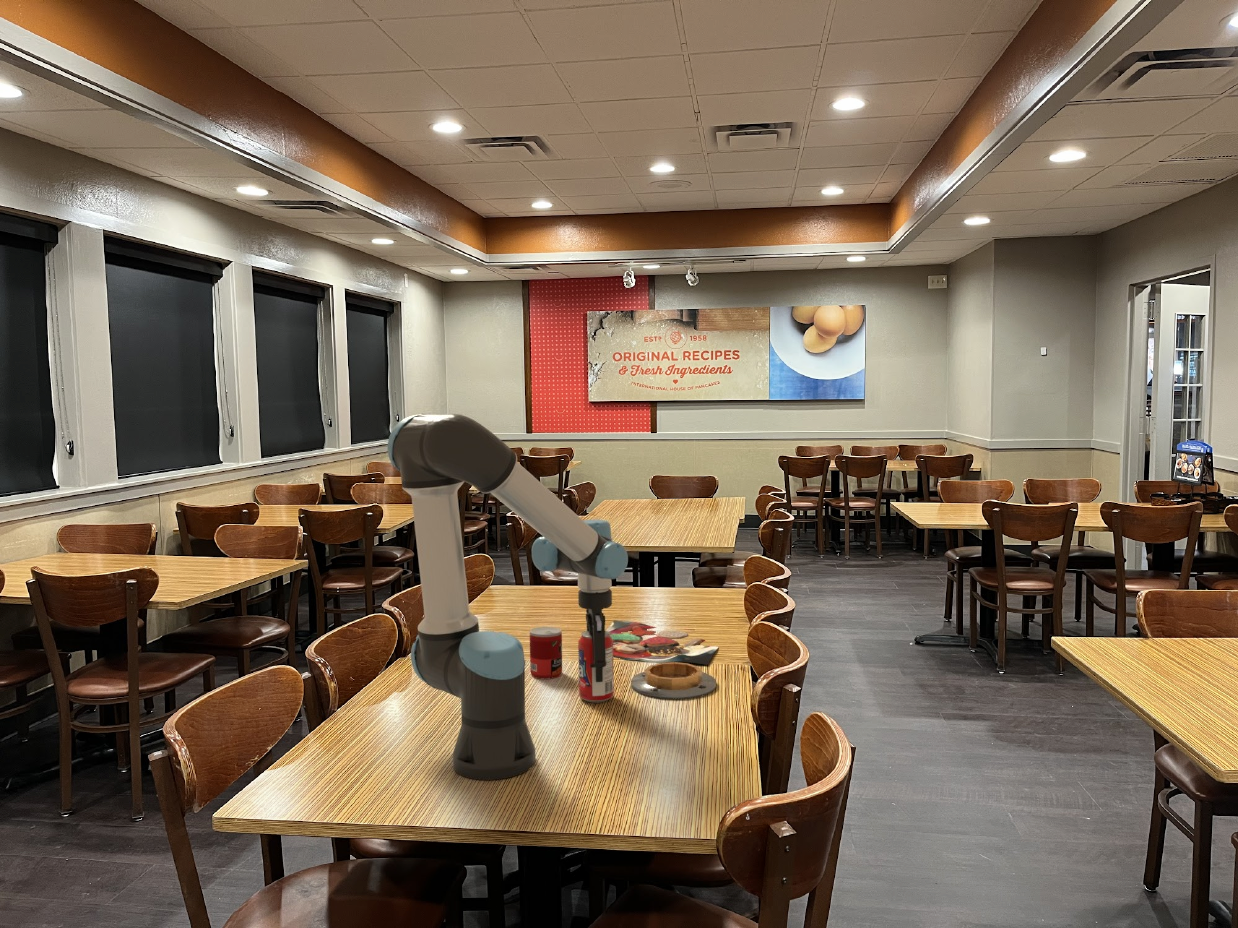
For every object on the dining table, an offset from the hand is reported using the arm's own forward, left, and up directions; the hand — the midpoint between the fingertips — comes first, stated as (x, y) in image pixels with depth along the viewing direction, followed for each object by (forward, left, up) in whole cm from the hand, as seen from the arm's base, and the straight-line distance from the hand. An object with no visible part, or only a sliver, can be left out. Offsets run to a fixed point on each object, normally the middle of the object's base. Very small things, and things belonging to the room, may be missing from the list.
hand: (596, 688), depth 194 cm
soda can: (0, 0, -2) cm, 2 cm away
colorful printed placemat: (+42, -22, -3) cm, 47 cm away
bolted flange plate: (+6, -19, -2) cm, 20 cm away
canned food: (+20, +10, -2) cm, 22 cm away
